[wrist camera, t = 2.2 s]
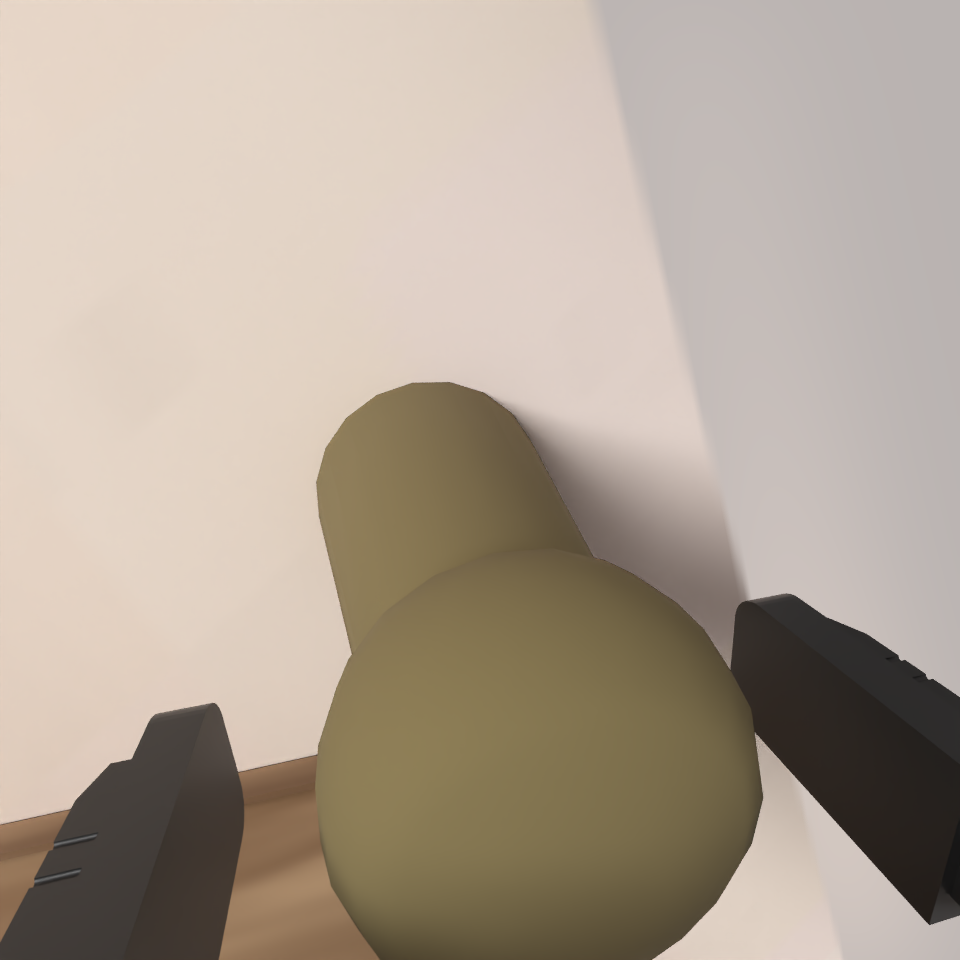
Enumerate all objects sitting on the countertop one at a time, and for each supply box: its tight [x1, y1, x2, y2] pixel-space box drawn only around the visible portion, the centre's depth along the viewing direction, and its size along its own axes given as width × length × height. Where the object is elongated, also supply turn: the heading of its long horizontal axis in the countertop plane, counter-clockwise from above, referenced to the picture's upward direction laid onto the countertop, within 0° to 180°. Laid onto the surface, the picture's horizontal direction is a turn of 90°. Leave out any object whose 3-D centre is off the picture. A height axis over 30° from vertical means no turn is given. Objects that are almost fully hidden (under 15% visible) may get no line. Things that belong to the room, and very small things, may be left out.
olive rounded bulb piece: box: [315, 382, 763, 960], centre depth 11 cm, size 6×6×11 cm
